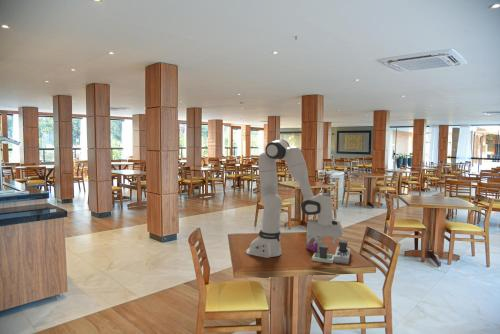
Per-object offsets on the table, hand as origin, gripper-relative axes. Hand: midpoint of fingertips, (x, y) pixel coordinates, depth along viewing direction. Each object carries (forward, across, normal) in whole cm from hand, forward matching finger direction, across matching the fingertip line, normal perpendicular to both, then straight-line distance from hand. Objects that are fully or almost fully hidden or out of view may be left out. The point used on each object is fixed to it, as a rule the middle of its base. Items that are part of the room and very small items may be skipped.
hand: (325, 243), depth 203 cm
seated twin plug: (+9, +10, +11) cm, 17 cm away
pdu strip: (+11, +10, +7) cm, 16 cm away
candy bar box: (+11, -9, +17) cm, 22 cm away
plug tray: (+10, -1, 0) cm, 10 cm away
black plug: (+10, -1, 0) cm, 10 cm away
